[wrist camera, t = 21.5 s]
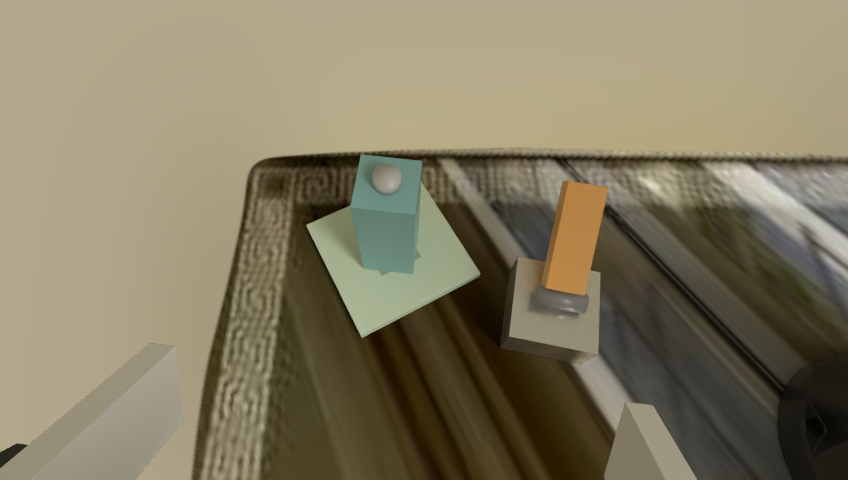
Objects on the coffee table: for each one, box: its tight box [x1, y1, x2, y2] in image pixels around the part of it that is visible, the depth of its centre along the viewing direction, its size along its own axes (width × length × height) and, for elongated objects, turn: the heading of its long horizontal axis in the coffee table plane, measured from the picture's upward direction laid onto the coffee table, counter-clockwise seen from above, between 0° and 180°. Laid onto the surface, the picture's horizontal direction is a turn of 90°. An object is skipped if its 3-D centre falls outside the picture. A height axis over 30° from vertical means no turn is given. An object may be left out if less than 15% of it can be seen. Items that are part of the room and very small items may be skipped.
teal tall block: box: [350, 154, 422, 274], centre depth 37 cm, size 4×4×12 cm
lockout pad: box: [306, 182, 481, 338], centre depth 43 cm, size 12×12×1 cm
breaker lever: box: [532, 181, 608, 314], centre depth 36 cm, size 2×4×10 cm
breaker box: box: [500, 257, 600, 364], centre depth 39 cm, size 7×7×4 cm
